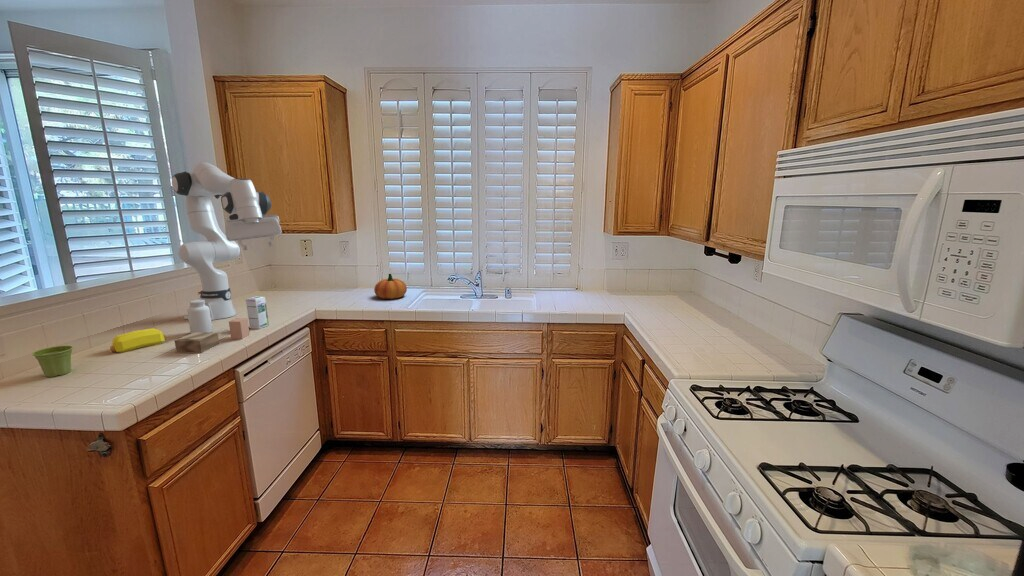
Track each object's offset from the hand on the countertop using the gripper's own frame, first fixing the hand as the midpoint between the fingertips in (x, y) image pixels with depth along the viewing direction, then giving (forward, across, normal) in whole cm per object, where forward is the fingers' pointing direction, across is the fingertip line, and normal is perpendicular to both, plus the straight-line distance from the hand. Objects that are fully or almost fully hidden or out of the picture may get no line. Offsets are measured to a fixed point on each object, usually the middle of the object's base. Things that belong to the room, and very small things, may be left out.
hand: (258, 248), depth 173 cm
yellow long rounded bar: (+30, +48, -24) cm, 62 cm away
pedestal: (+35, +29, -10) cm, 47 cm away
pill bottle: (+29, +28, -32) cm, 52 cm away
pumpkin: (+33, -66, -56) cm, 93 cm away
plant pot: (+33, +67, -5) cm, 75 cm away
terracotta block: (+35, +14, -17) cm, 41 cm away
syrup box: (+33, +6, -29) cm, 44 cm away
